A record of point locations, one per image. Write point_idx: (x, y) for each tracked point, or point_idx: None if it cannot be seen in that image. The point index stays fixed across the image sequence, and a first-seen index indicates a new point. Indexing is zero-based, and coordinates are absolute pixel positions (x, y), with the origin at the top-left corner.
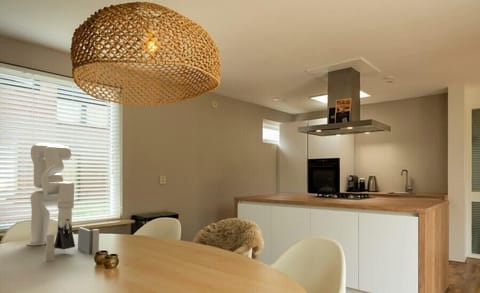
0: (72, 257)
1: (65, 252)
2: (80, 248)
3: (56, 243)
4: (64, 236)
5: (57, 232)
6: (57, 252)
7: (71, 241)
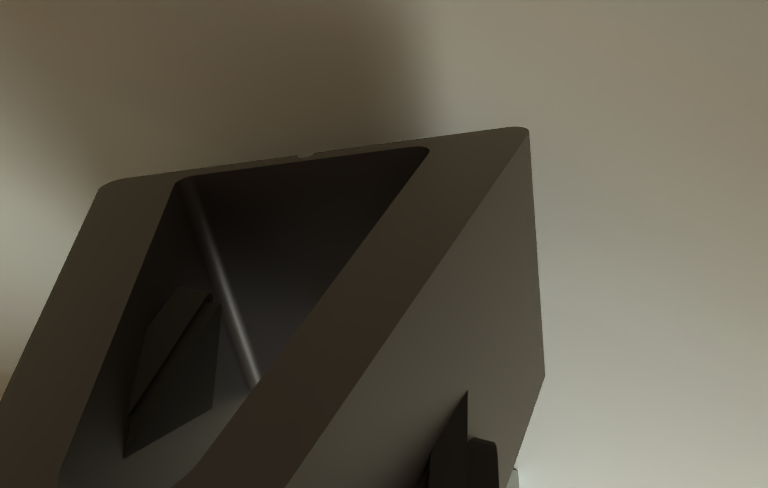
0: (16, 177)
1: None
2: None
3: (404, 191)
4: None
5: (287, 465)
6: (609, 205)
7: None
